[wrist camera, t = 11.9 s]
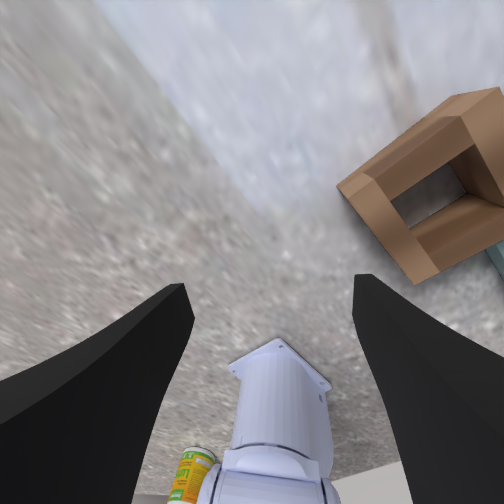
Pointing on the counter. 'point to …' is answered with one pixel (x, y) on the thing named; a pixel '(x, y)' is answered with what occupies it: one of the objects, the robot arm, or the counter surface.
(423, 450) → the robot arm
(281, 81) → the counter surface
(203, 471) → the supplement bottle
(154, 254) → the counter surface
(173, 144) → the counter surface
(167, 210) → the counter surface
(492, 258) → the tray
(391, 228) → the bore block
